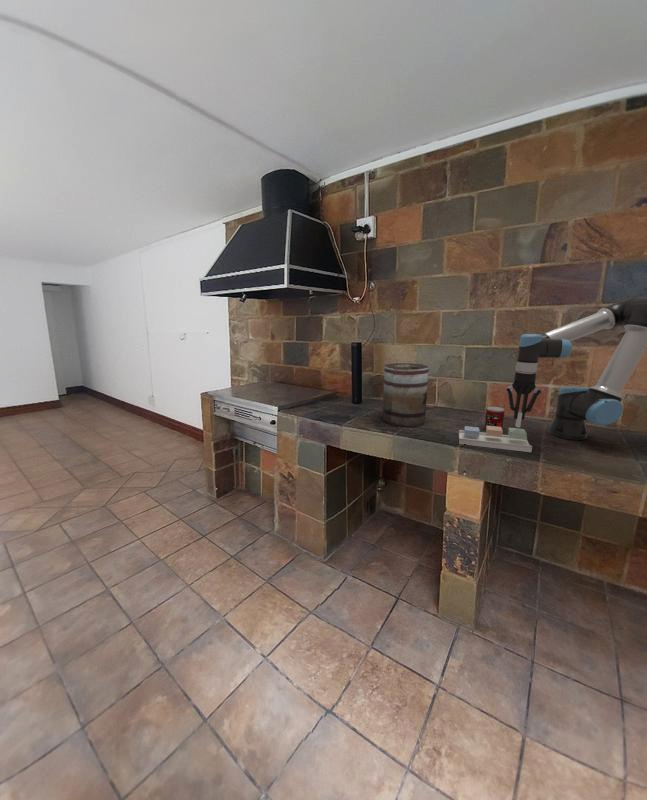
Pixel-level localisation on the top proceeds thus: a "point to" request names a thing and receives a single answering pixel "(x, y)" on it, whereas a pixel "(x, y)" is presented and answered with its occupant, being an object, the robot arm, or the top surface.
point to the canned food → (494, 417)
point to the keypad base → (495, 442)
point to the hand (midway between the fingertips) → (517, 426)
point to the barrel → (405, 394)
